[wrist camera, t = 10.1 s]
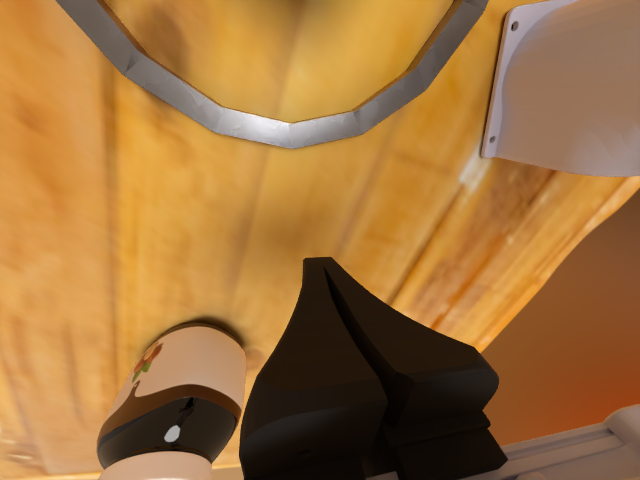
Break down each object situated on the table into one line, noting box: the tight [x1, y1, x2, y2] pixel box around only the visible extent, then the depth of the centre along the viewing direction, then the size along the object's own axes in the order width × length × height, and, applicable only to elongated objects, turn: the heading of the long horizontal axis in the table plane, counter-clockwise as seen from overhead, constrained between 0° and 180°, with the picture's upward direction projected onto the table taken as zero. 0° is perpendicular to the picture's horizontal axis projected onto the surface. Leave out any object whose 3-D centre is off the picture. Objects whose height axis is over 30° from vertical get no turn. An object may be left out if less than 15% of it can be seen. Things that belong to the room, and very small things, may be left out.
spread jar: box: [97, 323, 247, 480], centre depth 21 cm, size 12×11×12 cm
